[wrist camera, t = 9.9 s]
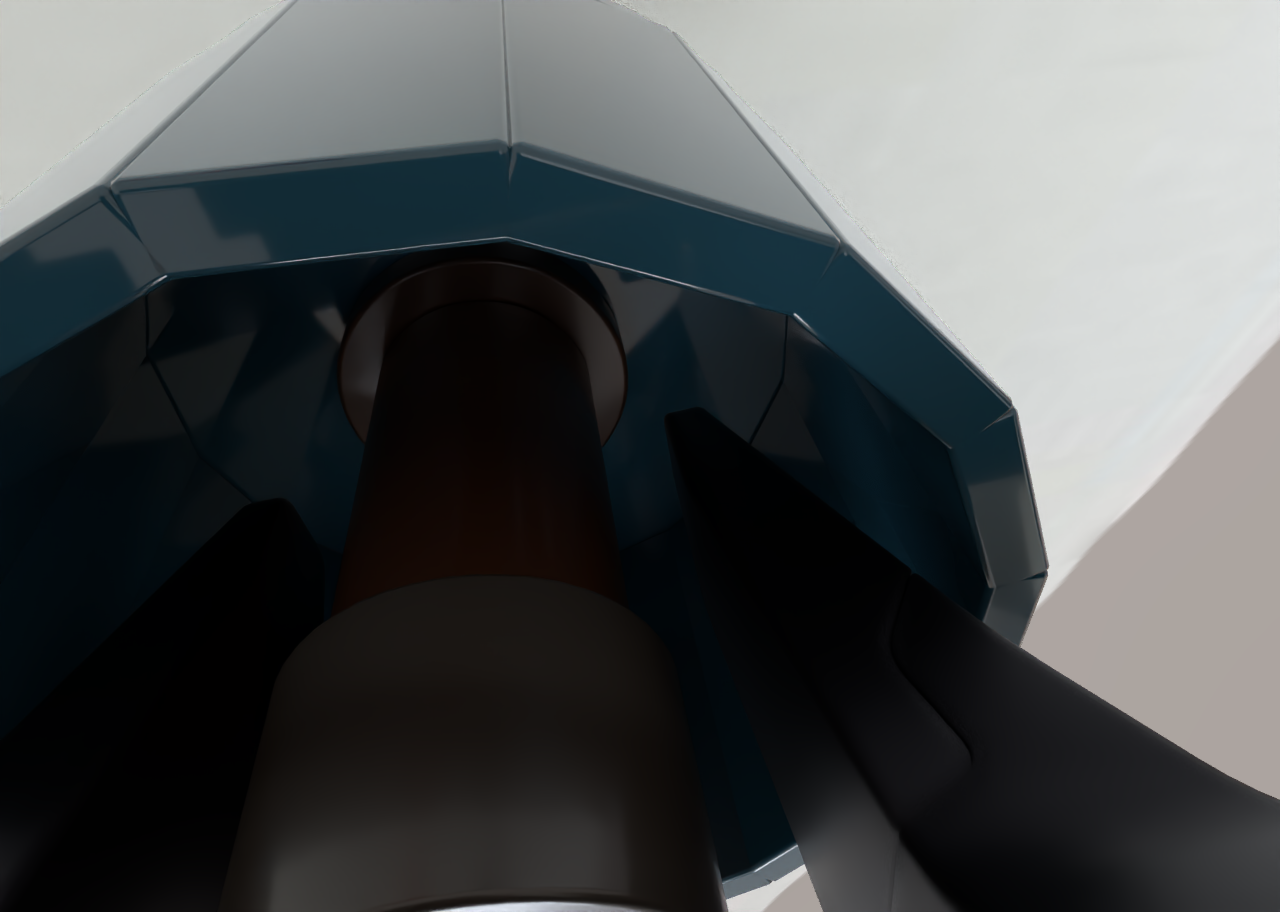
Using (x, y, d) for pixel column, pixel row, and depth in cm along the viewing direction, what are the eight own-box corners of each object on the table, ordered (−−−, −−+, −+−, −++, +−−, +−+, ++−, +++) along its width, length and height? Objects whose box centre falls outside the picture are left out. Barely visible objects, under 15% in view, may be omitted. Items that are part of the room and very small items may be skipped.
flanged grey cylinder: (517, 508, 12) (537, 1125, 6) (289, 390, 10) (41, 1102, 5) (678, 343, 11) (888, 945, 5) (447, 174, 9) (367, 812, 3)
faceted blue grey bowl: (548, 637, 15) (572, 1003, 10) (2, 402, 11) (-378, 863, 6) (934, 289, 12) (1232, 611, 7) (363, -283, 7) (113, -467, 2)
